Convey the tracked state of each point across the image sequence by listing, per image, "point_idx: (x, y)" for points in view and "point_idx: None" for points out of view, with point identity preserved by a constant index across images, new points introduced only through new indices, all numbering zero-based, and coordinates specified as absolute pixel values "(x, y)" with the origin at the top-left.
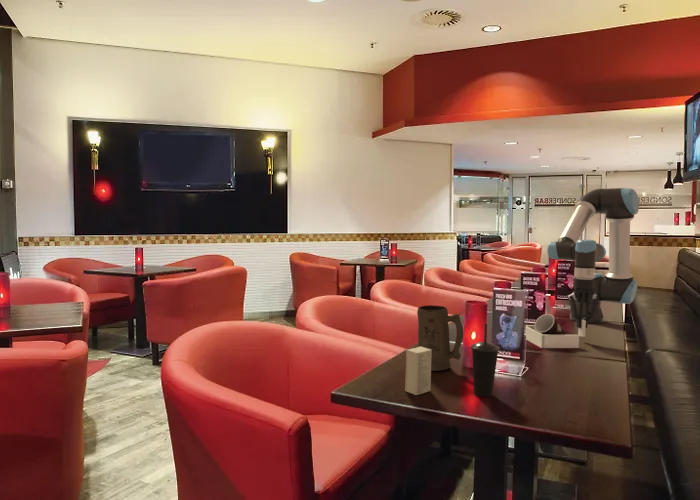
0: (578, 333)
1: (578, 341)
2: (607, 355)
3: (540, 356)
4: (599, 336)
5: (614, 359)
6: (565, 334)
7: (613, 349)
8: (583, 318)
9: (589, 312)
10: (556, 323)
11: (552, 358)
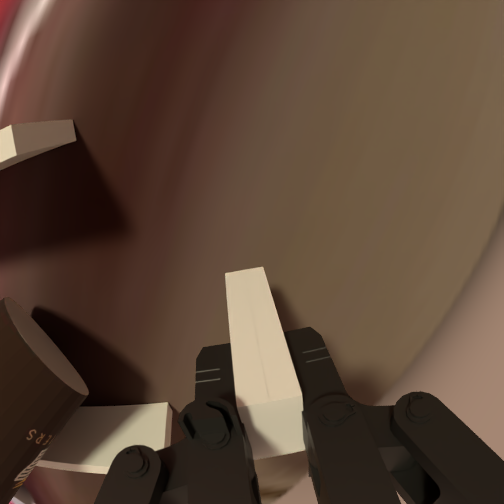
0: (227, 288)
1: (167, 441)
2: (268, 469)
3: (35, 473)
4: (464, 63)
5: (268, 490)
6: (86, 396)
7: (360, 393)
8: (306, 437)
9: (451, 472)
10: (14, 493)
11: (68, 487)
